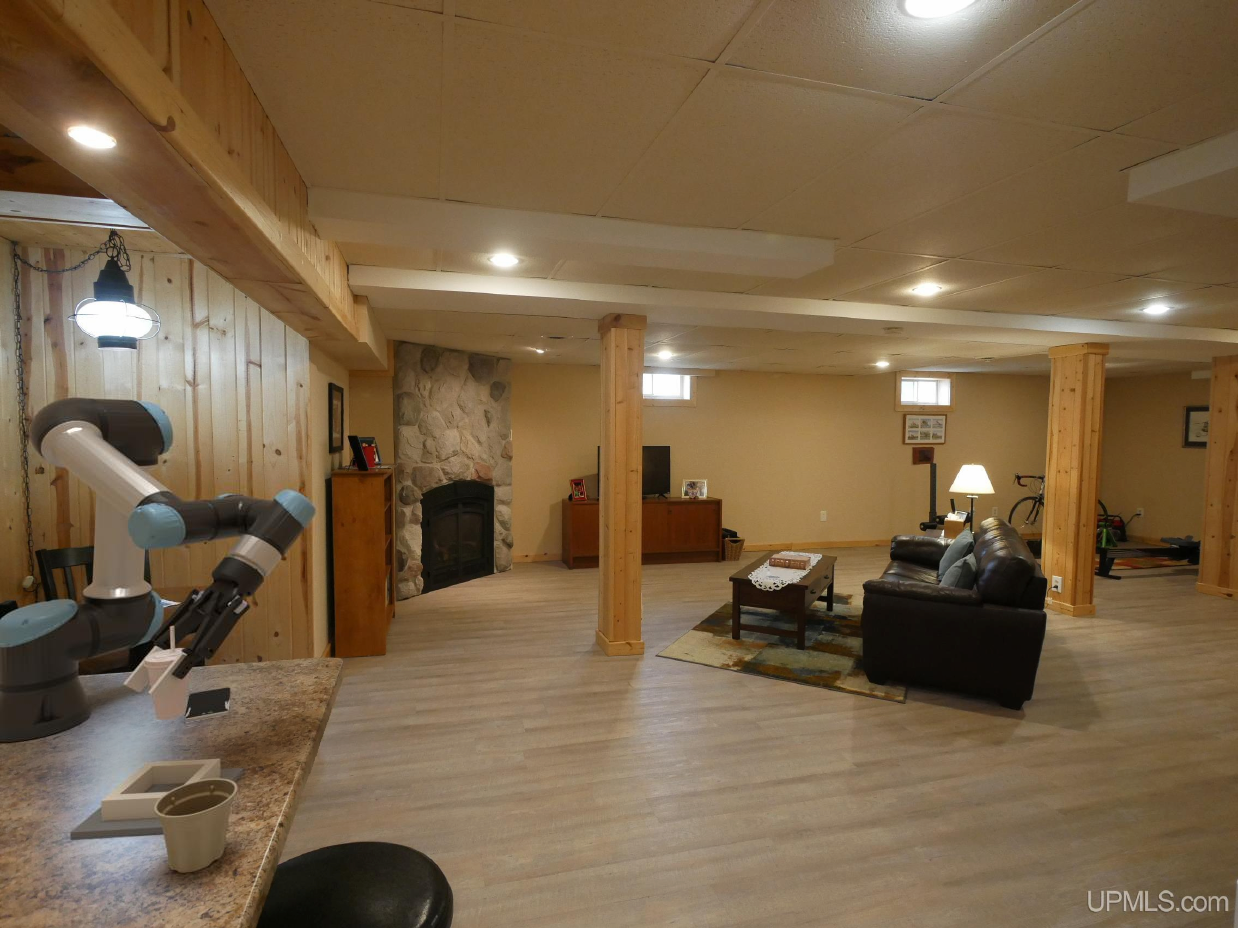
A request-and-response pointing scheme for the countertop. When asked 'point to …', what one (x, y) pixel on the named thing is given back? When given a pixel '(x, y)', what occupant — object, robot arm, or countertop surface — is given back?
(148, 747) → the countertop surface
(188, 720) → the smartphone
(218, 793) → the flower pot
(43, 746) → the countertop surface
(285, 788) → the countertop surface
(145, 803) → the socket
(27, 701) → the robot arm
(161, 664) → the smoothie
